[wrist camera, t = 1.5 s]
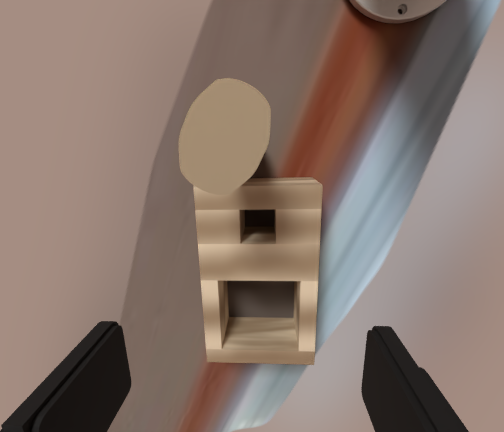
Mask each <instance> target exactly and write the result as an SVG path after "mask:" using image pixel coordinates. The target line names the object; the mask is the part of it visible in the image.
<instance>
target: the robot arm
mask: <svg viewBox="0 0 504 432" xmlns="http://www.w3.org/2000/svg"><path fill="white" fill-rule="evenodd" d="M349 1H350V2H351V4H352V5H353V6H354V7H355V8H356V9H357V10H359V11H360V12H361V13H362V14H364V15H365V16H367V17H369V18H371V19H373V20H376V21H380V22H384V23H404V22H409V21H413V20H416V19H418V18H421V17H423V16H425V15H427V14H429V13H430V12H432V11H433V10H435V9H436V8H438V7H439V6H440V5H442V4H443V3H444V2H445V1H446V0H349ZM398 11H399V12H400V14H399V13H398ZM130 388H131V376H130V370H129V364H128V359H127V353H126V347H125V341H124V335H123V329H122V327H121V326H119V325H118V323H117V322H113V321H109V322H108V321H101V322H99V323H98V324H97V325H96V326H95V327H94V328H93V329H92V330H91V331H90V332H89V334H88V335H87V336H86V337H85V338H84V339H83V340H82V341H81V342H80V343H79V344H78V345H77V346H76V347H75V348H74V349H73V350H72V351H71V353H70V354H69V355H68V356H67V357H66V358H65V359H64V360H63V361H62V362H61V363H60V364H59V365H58V366H57V367H56V368H55V369H54V371H52V372H51V374H50V375H49V376H48V377H47V378H46V379H45V380H44V381H43V382H42V383H41V384H40V385H39V386H38V387H37V388H36V389H35V390H34V391H33V393H32V394H31V395H30V396H29V397H28V398H27V399H26V400H25V401H24V402H23V403H22V404H21V405H20V406H19V407H18V408H17V409H16V410H15V411H14V413H13V414H12V415H11V416H10V417H9V418H8V419H7V420H6V421H5V422H4V423H3V424H2V429H1V431H0V432H107V430H108V428H109V427H110V425H111V423H112V421H113V420H114V418H115V416H116V414H117V412H118V411H119V409H120V407H121V405H122V404H123V402H124V400H125V398H126V396H127V395H128V393H129V391H130ZM362 397H363V400H364V403H365V405H366V408H367V411H368V414H369V416H370V419H371V422H372V424H373V427H374V430H375V432H468V430H467V429H466V427H465V426H464V424H463V423H462V422H461V420H460V419H459V417H458V416H457V414H456V413H455V412H454V410H453V409H452V407H451V406H450V404H449V403H448V401H447V400H446V399H445V397H444V396H443V394H442V393H441V391H440V390H439V389H438V387H437V386H436V384H435V383H434V382H433V380H432V379H431V377H430V376H429V374H428V373H427V372H426V371H425V370H424V369H422V368H420V367H418V366H417V364H416V363H415V361H414V360H413V358H412V357H411V355H410V354H409V352H408V351H407V349H406V348H405V346H404V345H403V344H402V342H401V341H400V339H399V338H398V336H397V335H396V333H395V332H394V330H393V329H392V328H391V327H389V326H374V327H373V328H372V330H369V331H368V333H367V341H366V351H365V361H364V370H363V379H362Z"/></svg>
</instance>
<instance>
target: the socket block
mask: <svg viewBox="0 0 504 432" xmlns="http://www.w3.org/2000/svg"><path fill="white" fill-rule="evenodd" d="M322 188H323V185H322V184H320V183H319V182H318V181H316V180H315V179H314V178H312V177H305V178H249V179H248V180H247V181H246V182H245V183H243V184H242V185H241V186H240V187H239V188H237V189H236V190H235V191H233V192H232V193H231V194H227V195H216V194H211V193H208V192H206V191H203V190H201V189H199V188H197V187H196V186H194V199H195V212H196V225H197V238H198V250H199V263H200V276H201V289H202V302H203V314H204V327H205V340H206V353H207V362H230V363H267V364H304V365H314V358H315V336H316V315H317V294H318V273H319V251H320V230H321V209H322Z"/></svg>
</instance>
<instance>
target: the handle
mask: <svg viewBox="0 0 504 432" xmlns="http://www.w3.org/2000/svg"><path fill="white" fill-rule="evenodd" d="M270 111H271V107H270V105H269V104H268V102H267V100H266V99H265V97H264V96H263V95H262V94H261V93H260V92H259V91H258V90H257V89H255V88H254V87H252V86H251V85H249V84H247V83H245V82H242V81H240V80H236V79H231V78H223V79H217V80H215V81H214V82H213V83H212V84H211V85H210V86H209V87H208V88H207V89H205V90H204V91H203V92H202V93H201V94H200V95H199V96H198V97H197V98H196V100H195V101H194V102H193V103H192V105H191V107H190V109H189V111H188V113H187V116H186V118H185V121H184V124H183V126H182V129H181V132H180V136H179V161H180V170H181V172H182V173H183V175H184V176H185V178H186V179H187V180H188V181H189V182H190V183H192V184H193V185H194V186H196V187H197V188H199V189H201V190H203V191H206V192H208V193H211V194H216V195H227V194H231V193H232V192H233V191H235V190H236V189H237V188H239V187H240V186H241V185H242V184H243V183H245V182H246V181H247V180H248V179H249V178H250V177H251V176H252V175H253V174H254V173H255V171H256V170H257V168H258V166H259V163H260V161H261V159H262V157H263V155H264V153H265V151H266V149H267V147H268V144H269V138H270Z"/></svg>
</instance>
